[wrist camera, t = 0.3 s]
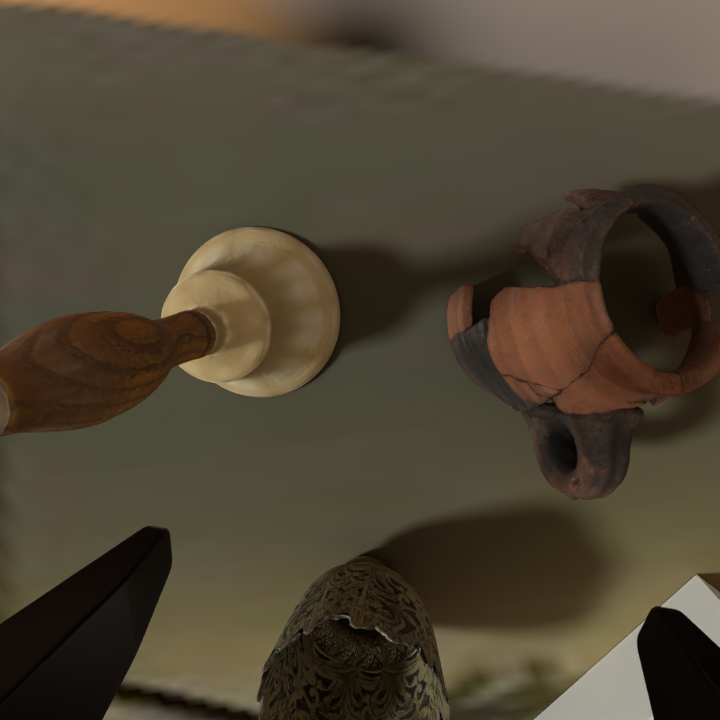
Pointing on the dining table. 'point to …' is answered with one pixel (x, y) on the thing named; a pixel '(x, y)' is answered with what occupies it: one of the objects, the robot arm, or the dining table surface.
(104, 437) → the dining table surface
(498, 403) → the dining table surface
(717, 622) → the key panel
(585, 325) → the pottery mug
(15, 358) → the hand bell
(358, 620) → the cup
